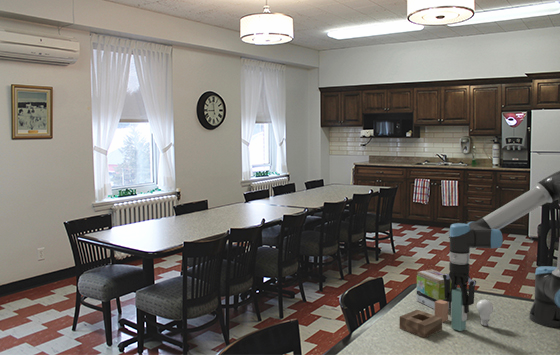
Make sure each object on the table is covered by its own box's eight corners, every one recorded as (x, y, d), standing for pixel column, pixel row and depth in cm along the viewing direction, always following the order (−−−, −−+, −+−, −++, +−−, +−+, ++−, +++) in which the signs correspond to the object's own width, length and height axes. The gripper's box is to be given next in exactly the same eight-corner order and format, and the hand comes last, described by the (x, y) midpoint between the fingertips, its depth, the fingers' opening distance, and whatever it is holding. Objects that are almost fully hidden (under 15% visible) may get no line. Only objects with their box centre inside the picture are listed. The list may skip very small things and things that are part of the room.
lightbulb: (483, 329, 187) (483, 303, 186) (472, 323, 194) (473, 298, 193) (496, 327, 189) (497, 301, 188) (485, 321, 195) (486, 296, 194)
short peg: (448, 320, 198) (448, 301, 197) (442, 322, 195) (443, 304, 194) (439, 317, 201) (440, 299, 200) (434, 319, 198) (434, 301, 198)
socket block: (442, 329, 188) (442, 317, 187) (424, 338, 180) (425, 325, 180) (416, 320, 197) (416, 309, 197) (399, 328, 190) (399, 316, 189)
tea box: (415, 301, 221) (416, 271, 219) (431, 298, 225) (432, 268, 224) (438, 311, 207) (439, 279, 206) (455, 308, 211) (455, 276, 210)
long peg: (465, 328, 187) (466, 290, 186) (460, 331, 185) (461, 292, 183) (456, 325, 190) (457, 287, 189) (451, 328, 188) (451, 289, 187)
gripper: (435, 259, 190) (434, 314, 192) (474, 268, 176) (474, 327, 178) (445, 256, 194) (444, 310, 196) (484, 264, 181) (483, 322, 183)
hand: (458, 318), depth 187 cm, fingers closed on long peg, 4 cm apart
